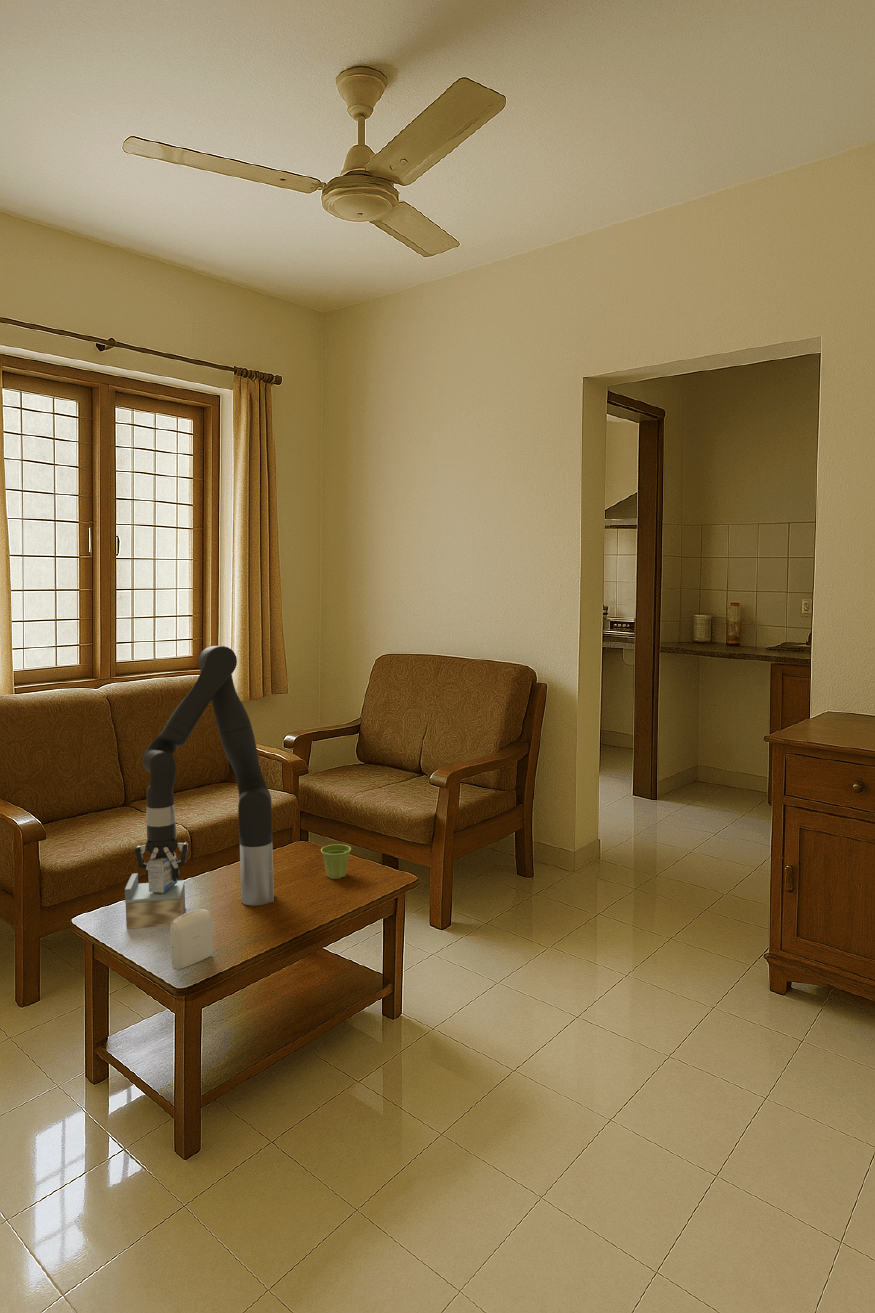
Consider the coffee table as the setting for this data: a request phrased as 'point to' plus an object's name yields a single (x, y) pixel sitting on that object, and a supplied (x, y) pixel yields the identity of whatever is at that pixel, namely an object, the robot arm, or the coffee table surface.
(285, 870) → the coffee table surface
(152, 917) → the wooden box
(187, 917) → the photo printer
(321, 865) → the coffee table surface
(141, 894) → the lid
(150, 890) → the medicine box
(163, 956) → the coffee table surface
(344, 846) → the plant pot
